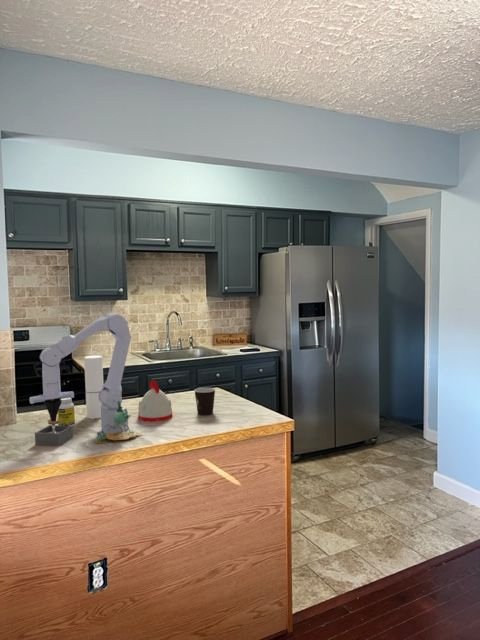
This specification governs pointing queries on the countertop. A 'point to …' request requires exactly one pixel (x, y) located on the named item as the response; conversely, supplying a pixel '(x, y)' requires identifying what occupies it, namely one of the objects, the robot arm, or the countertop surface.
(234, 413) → the countertop surface
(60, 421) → the pill bottle
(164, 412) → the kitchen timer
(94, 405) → the cylindrical container
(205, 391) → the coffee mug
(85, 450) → the countertop surface
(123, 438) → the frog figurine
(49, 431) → the plunger
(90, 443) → the countertop surface
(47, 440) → the gray open box
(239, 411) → the countertop surface
